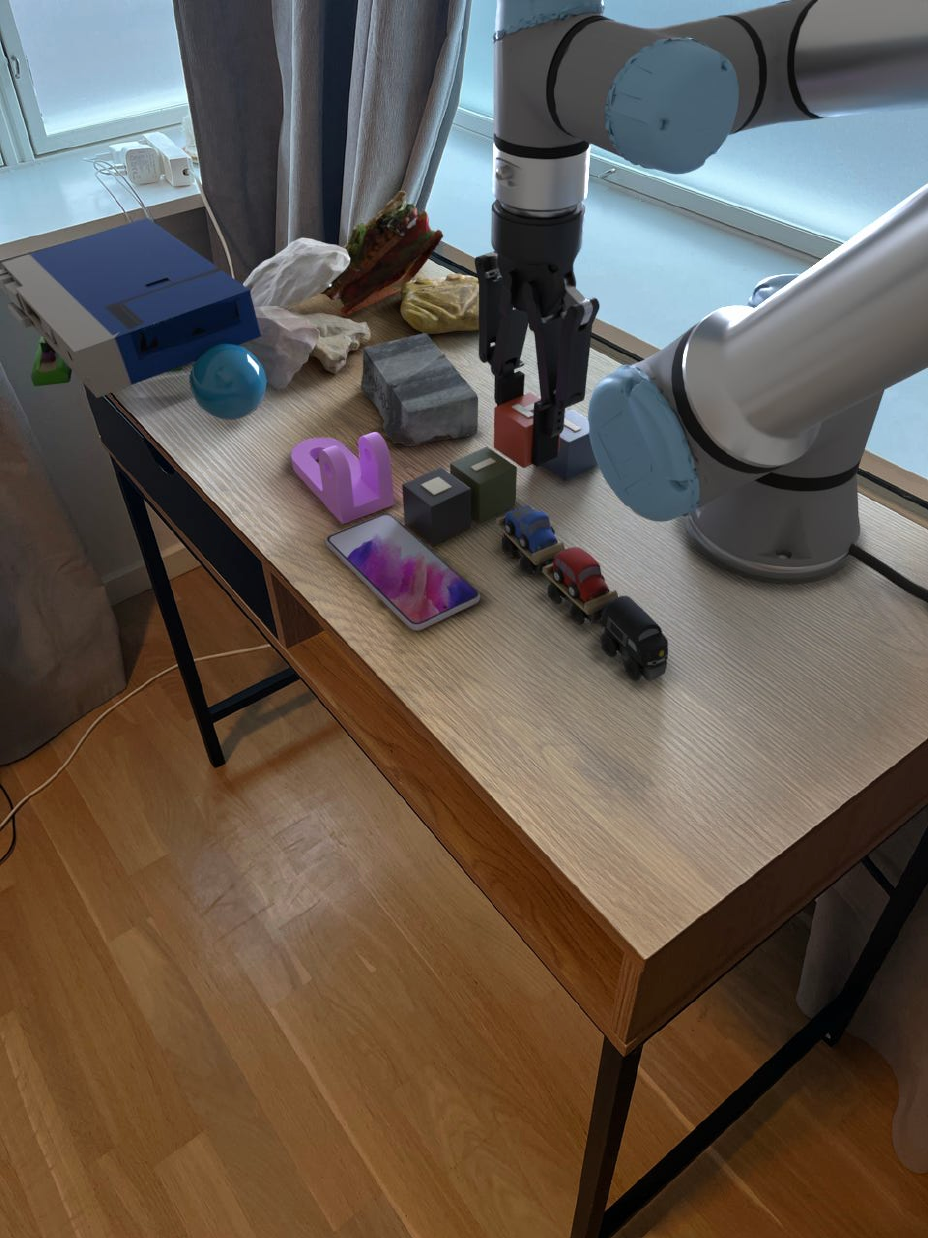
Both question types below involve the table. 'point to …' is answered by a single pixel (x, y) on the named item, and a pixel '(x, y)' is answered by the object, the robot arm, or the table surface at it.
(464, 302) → the sculpture
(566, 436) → the block
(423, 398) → the stone block
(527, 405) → the letter block
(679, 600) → the table surface
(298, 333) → the stone tool
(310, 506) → the table surface
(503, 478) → the block
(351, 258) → the sandwich
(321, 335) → the stone
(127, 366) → the electronic device
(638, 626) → the toy train
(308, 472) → the bracket
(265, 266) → the fragment
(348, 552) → the smartphone
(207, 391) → the ball
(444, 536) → the block
